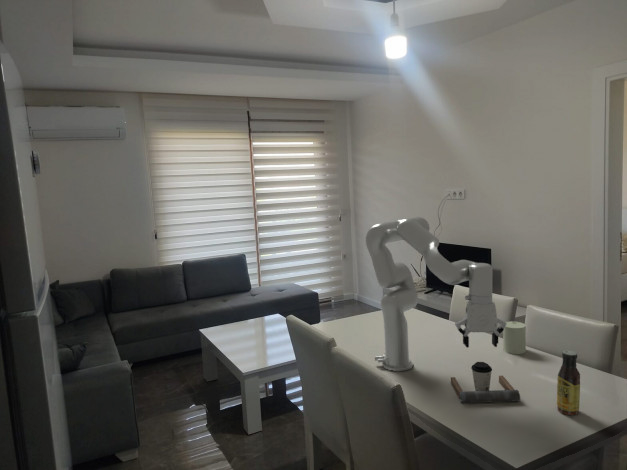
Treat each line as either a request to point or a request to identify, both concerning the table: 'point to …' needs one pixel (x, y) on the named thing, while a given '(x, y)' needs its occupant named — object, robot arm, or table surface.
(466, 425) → the table surface
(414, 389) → the table surface
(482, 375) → the coffee cup
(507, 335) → the can
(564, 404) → the sauce bottle
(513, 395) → the bay
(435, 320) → the table surface
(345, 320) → the table surface
